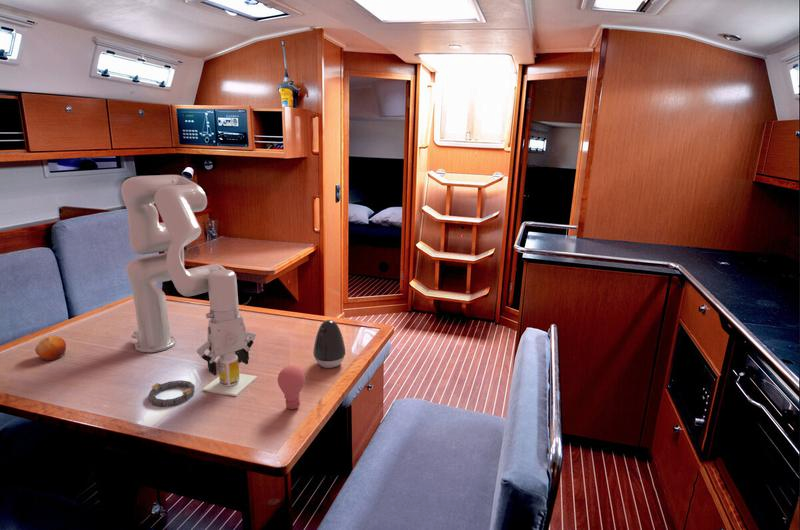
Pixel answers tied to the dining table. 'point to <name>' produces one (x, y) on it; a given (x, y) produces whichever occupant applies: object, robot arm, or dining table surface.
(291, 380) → the light bulb
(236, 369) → the supplement bottle
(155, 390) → the collar
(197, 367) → the dining table surface
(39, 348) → the fruit
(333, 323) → the pump dispenser
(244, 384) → the coaster
